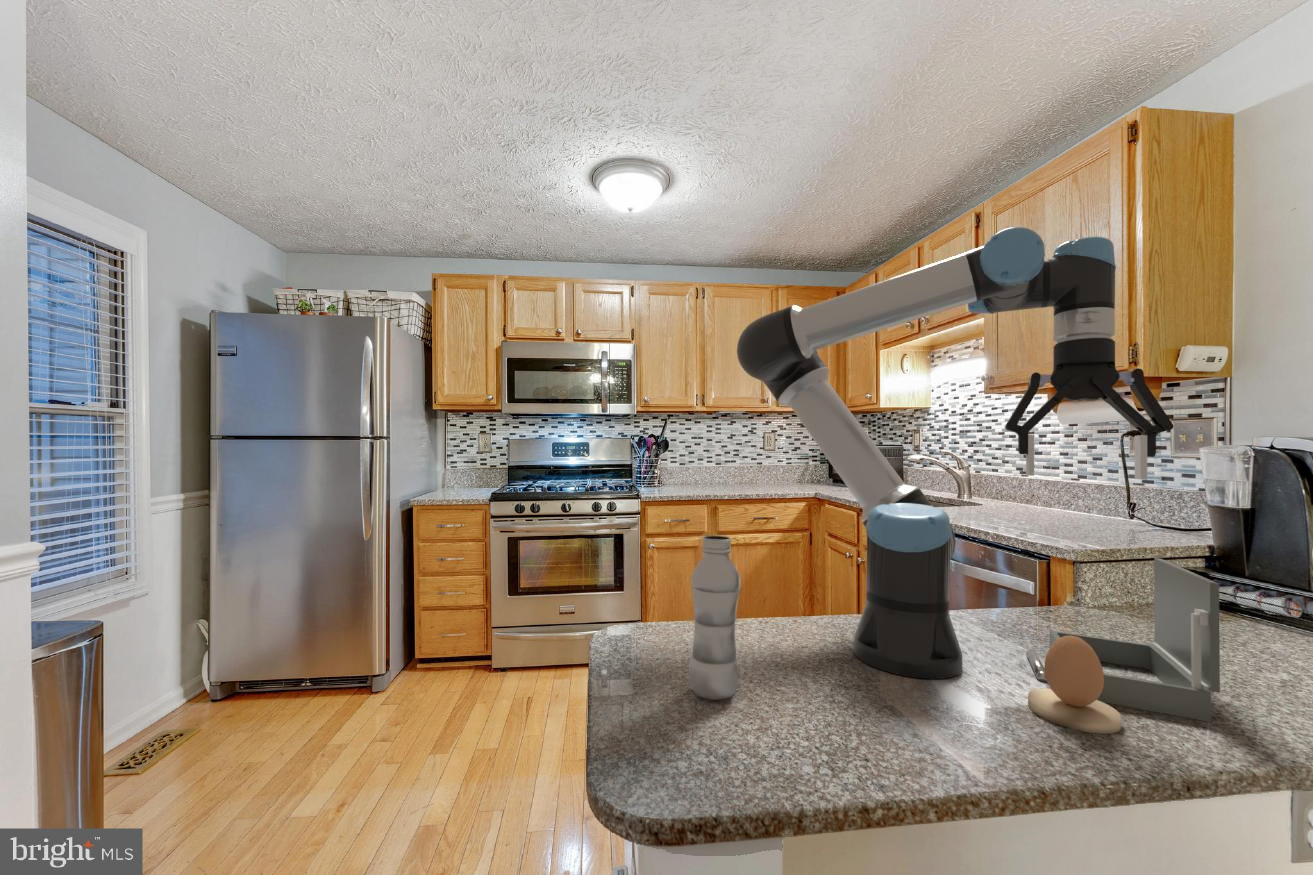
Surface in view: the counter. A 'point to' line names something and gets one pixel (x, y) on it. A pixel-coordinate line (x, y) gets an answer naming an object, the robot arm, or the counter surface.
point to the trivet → (1075, 713)
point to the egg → (1074, 671)
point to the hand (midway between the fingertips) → (1083, 477)
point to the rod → (1036, 665)
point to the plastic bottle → (714, 621)
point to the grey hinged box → (1169, 649)
